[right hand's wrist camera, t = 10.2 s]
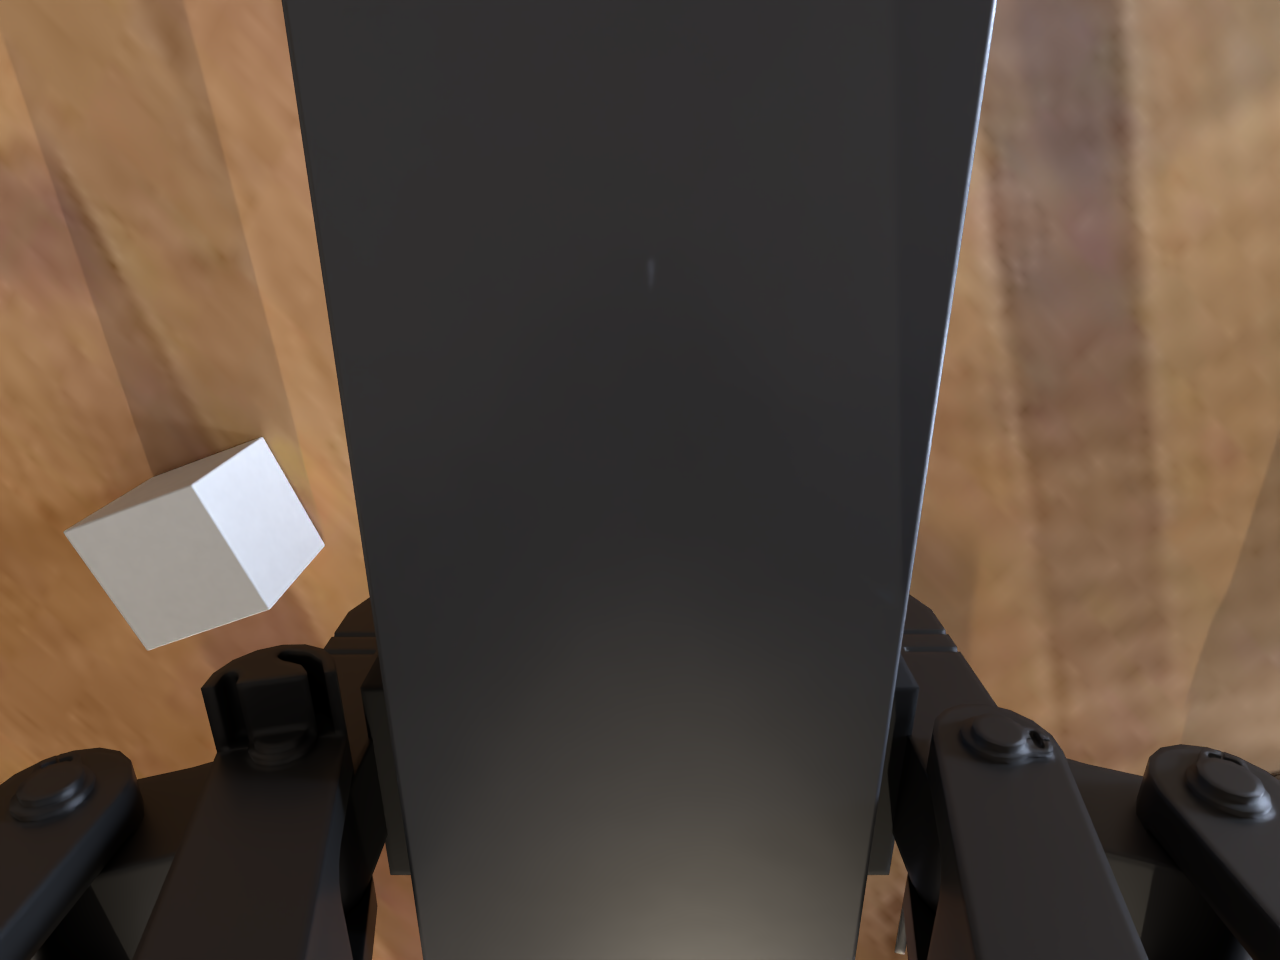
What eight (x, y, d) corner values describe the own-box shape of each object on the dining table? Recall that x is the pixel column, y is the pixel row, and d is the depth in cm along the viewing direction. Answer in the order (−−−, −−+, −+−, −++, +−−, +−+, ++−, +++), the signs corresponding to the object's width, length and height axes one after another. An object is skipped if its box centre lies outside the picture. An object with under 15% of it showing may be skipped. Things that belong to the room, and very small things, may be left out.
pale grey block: (262, 435, 29) (191, 484, 25) (325, 545, 31) (270, 609, 26) (151, 477, 30) (61, 532, 25) (219, 582, 32) (146, 651, 27)
